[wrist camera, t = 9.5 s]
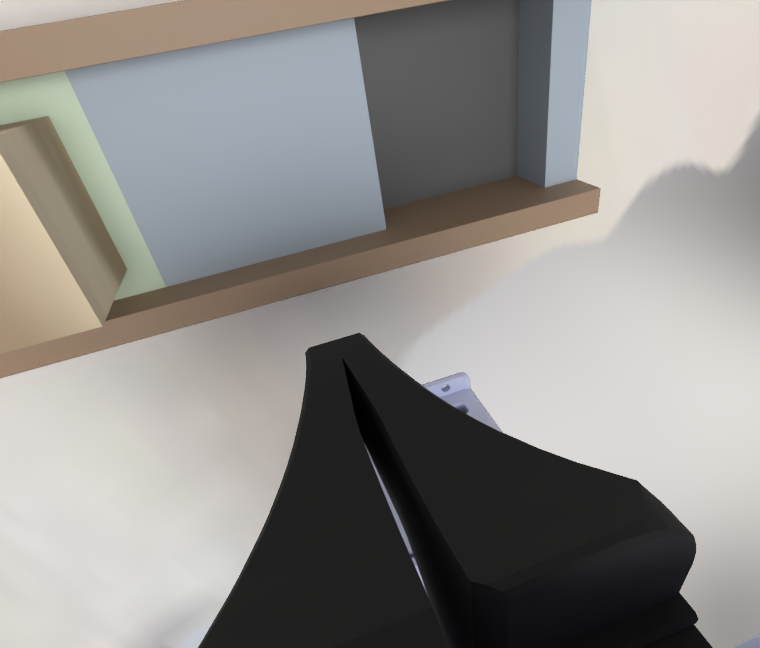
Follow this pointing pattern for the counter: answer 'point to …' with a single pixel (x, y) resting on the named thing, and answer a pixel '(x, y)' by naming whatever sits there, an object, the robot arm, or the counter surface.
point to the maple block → (49, 242)
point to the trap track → (300, 142)
